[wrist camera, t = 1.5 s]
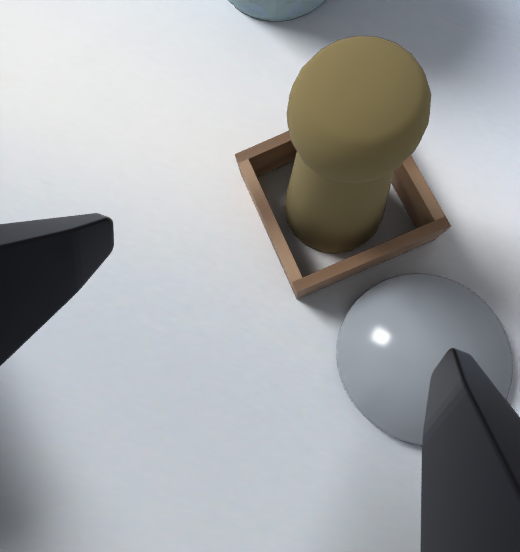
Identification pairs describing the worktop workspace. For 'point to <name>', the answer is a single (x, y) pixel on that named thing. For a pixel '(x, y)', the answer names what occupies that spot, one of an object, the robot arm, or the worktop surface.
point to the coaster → (414, 347)
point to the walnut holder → (427, 229)
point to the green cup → (276, 8)
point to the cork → (351, 138)
